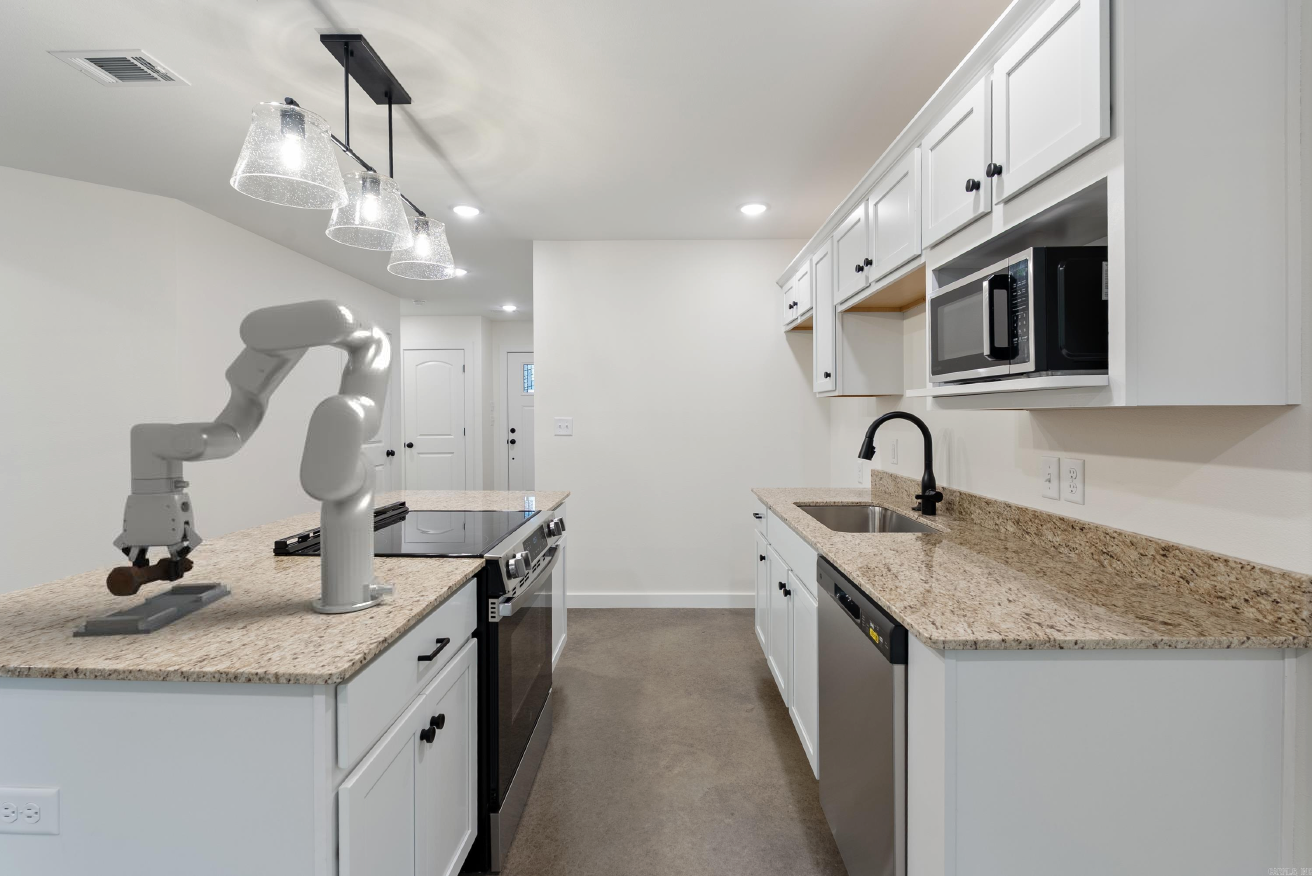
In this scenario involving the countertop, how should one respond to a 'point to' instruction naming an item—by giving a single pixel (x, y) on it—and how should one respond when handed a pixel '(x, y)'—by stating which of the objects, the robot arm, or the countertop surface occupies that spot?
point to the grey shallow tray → (120, 622)
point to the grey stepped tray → (181, 602)
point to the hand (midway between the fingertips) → (158, 579)
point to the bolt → (139, 576)
